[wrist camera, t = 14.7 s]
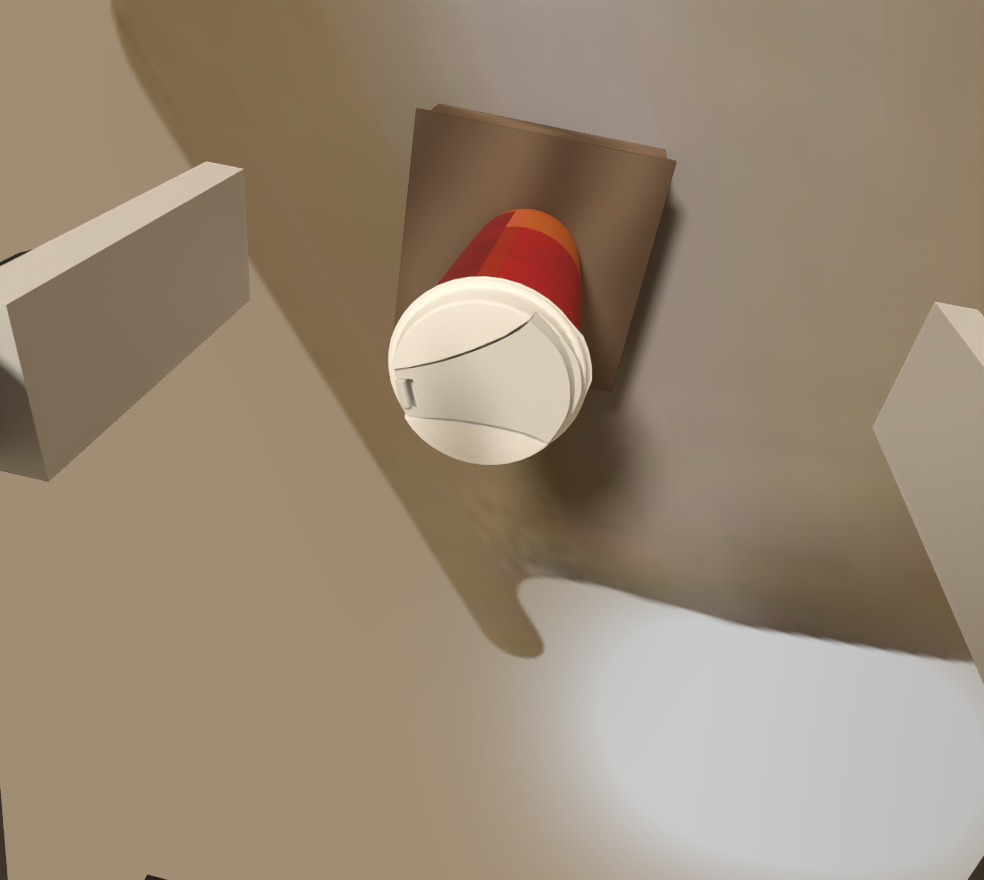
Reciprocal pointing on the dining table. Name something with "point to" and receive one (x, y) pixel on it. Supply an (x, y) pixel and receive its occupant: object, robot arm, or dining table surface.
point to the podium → (541, 186)
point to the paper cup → (496, 344)
